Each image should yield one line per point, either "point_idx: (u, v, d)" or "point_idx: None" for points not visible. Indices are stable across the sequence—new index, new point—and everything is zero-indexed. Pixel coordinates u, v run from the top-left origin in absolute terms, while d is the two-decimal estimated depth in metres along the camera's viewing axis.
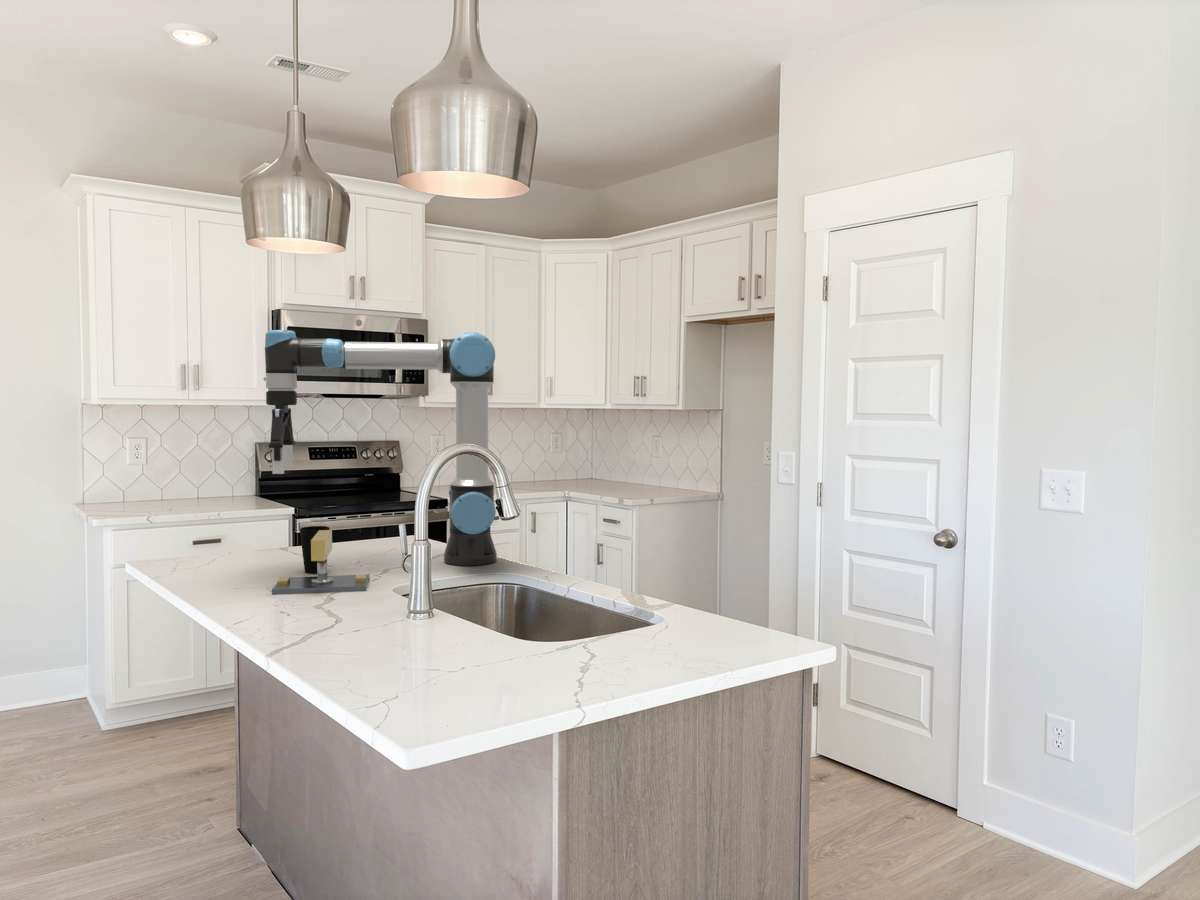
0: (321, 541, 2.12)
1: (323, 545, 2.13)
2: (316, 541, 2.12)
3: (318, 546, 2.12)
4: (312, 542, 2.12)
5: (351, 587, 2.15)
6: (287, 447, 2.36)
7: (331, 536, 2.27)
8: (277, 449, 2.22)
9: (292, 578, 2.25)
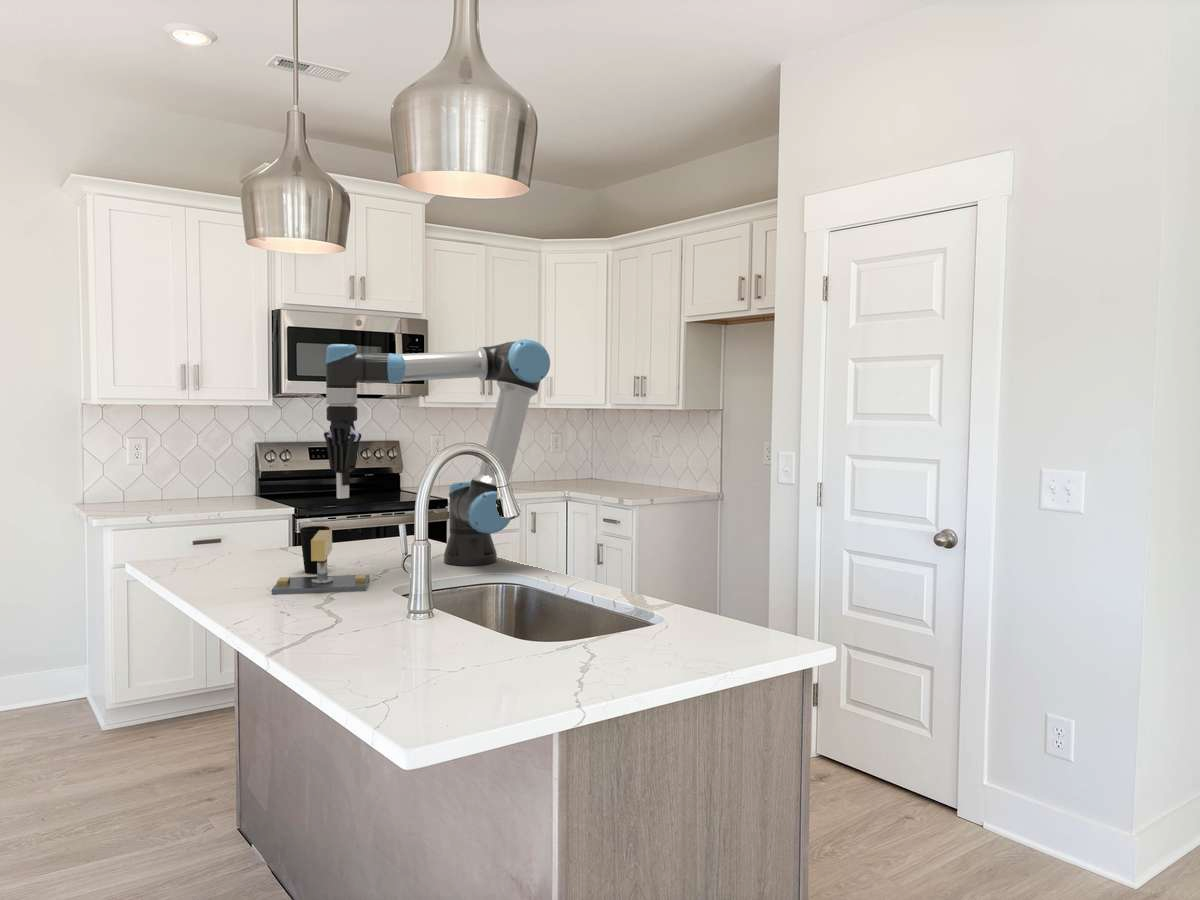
0: (321, 541, 2.12)
1: (323, 545, 2.13)
2: (316, 541, 2.12)
3: (318, 546, 2.12)
4: (312, 542, 2.12)
5: (351, 587, 2.15)
6: None
7: (331, 536, 2.27)
8: None
9: (292, 578, 2.25)
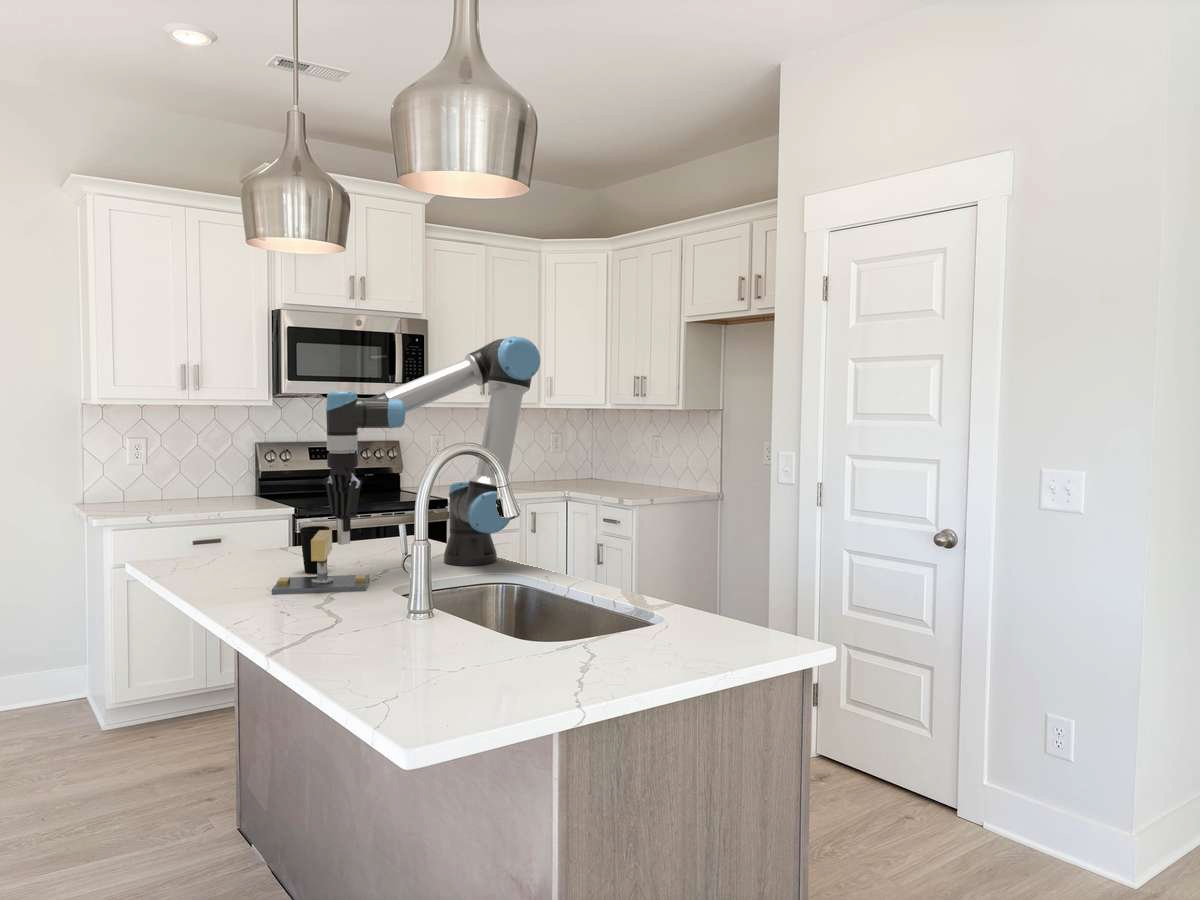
0: (321, 541, 2.12)
1: (323, 545, 2.13)
2: (316, 541, 2.12)
3: (318, 546, 2.12)
4: (312, 542, 2.12)
5: (351, 587, 2.15)
6: None
7: (331, 536, 2.27)
8: None
9: (292, 578, 2.25)
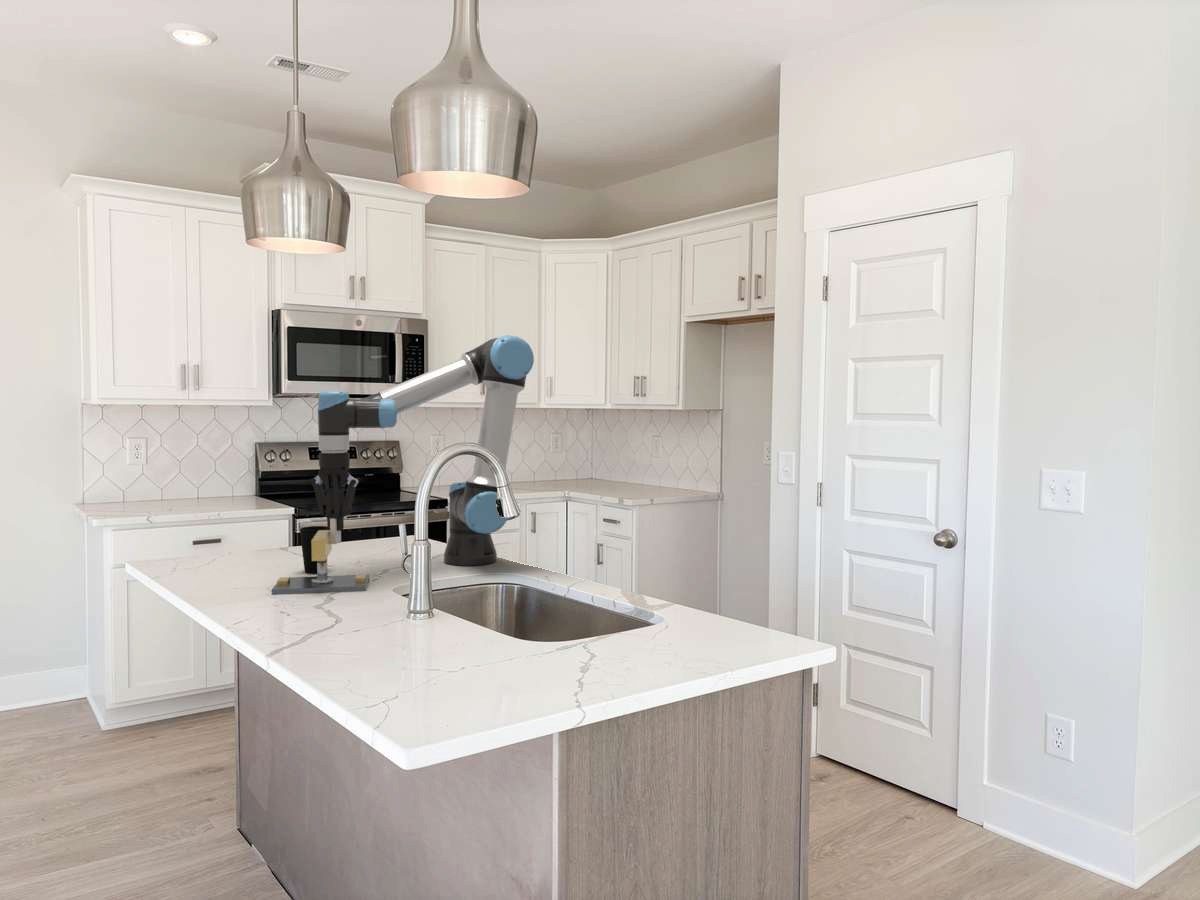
0: (322, 541, 2.12)
1: (324, 545, 2.13)
2: (317, 541, 2.12)
3: (319, 546, 2.12)
4: (313, 542, 2.12)
5: (351, 587, 2.15)
6: None
7: None
8: None
9: (292, 578, 2.25)
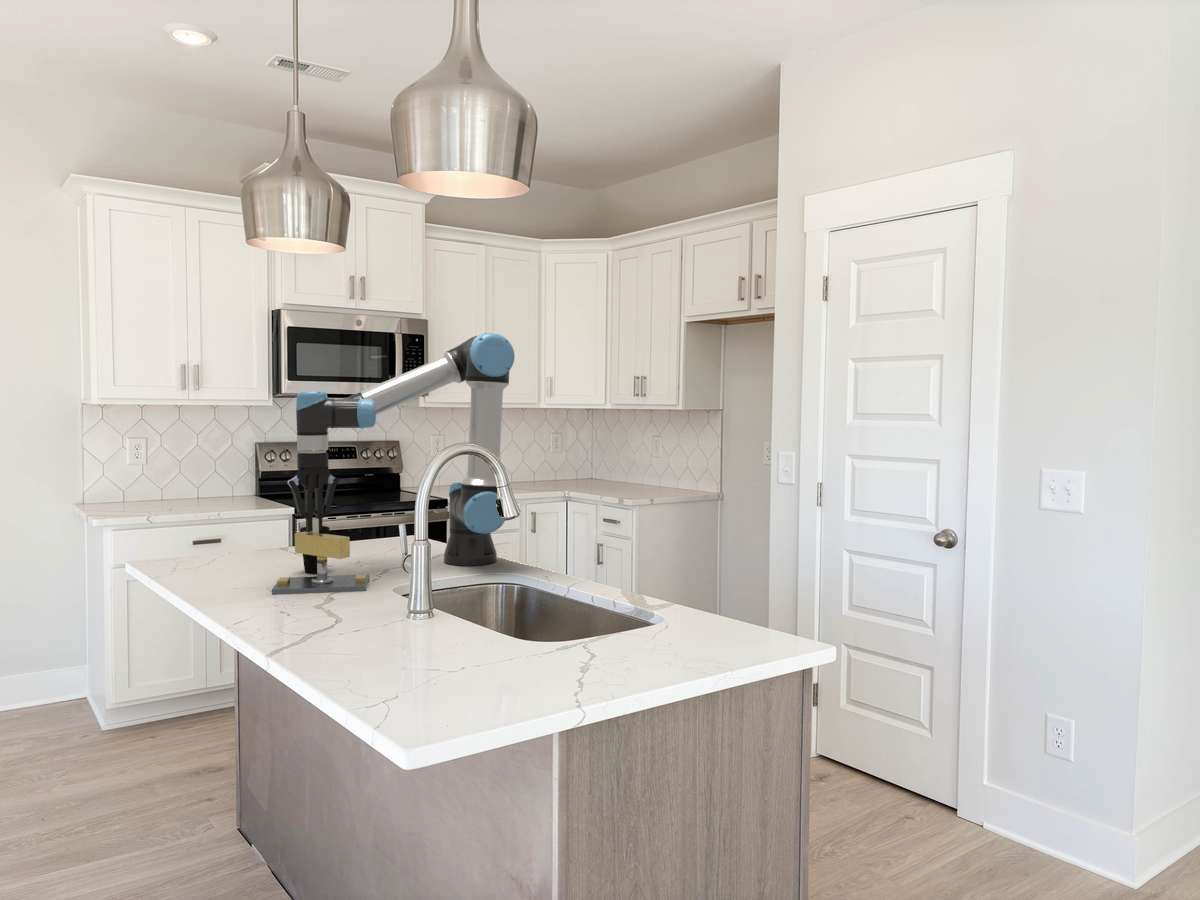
0: (347, 538, 2.17)
1: (348, 542, 2.17)
2: (343, 539, 2.16)
3: (345, 543, 2.16)
4: (340, 540, 2.15)
5: (351, 587, 2.15)
6: None
7: None
8: (306, 519, 2.24)
9: (292, 578, 2.25)
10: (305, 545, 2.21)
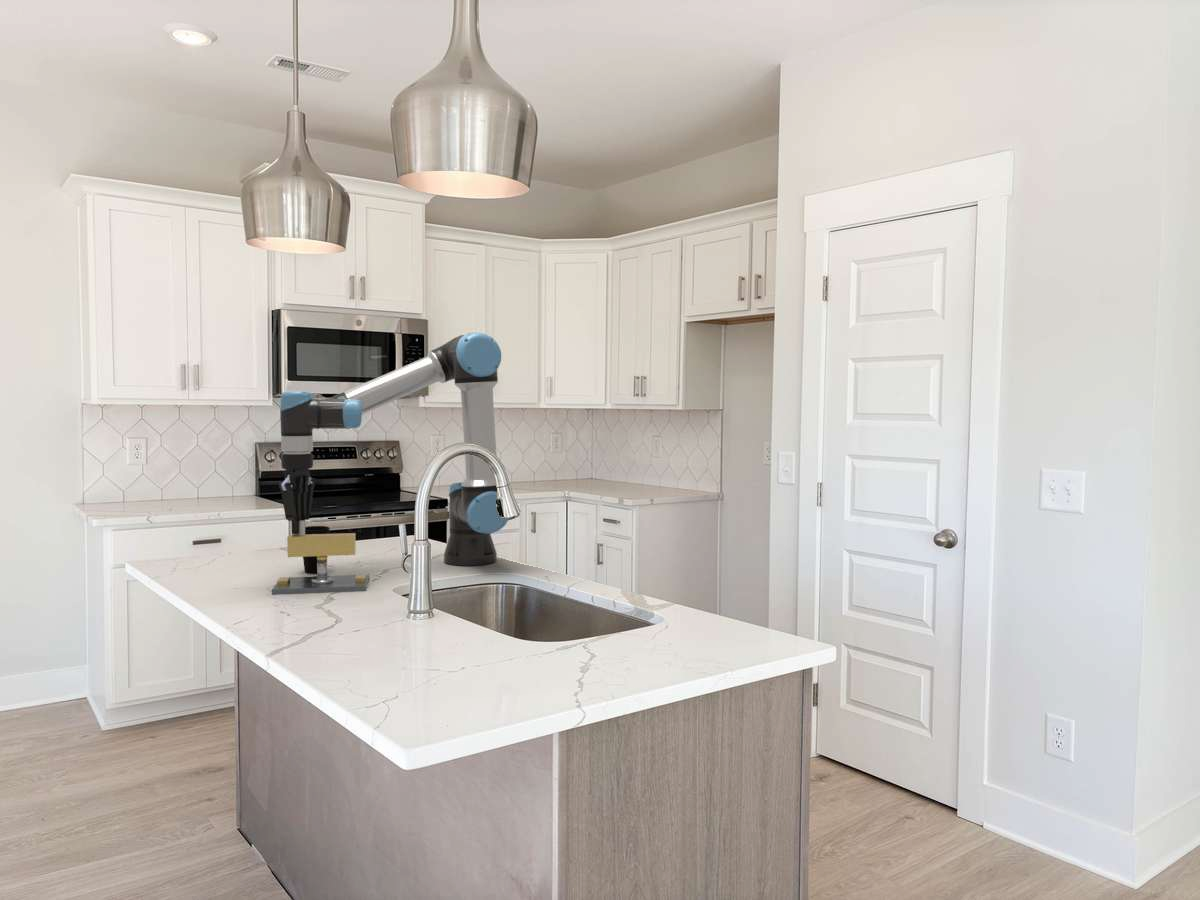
0: None
1: None
2: (354, 535, 2.21)
3: None
4: (354, 536, 2.21)
5: (351, 587, 2.15)
6: None
7: None
8: (294, 522, 2.20)
9: (292, 578, 2.25)
10: (303, 547, 2.18)
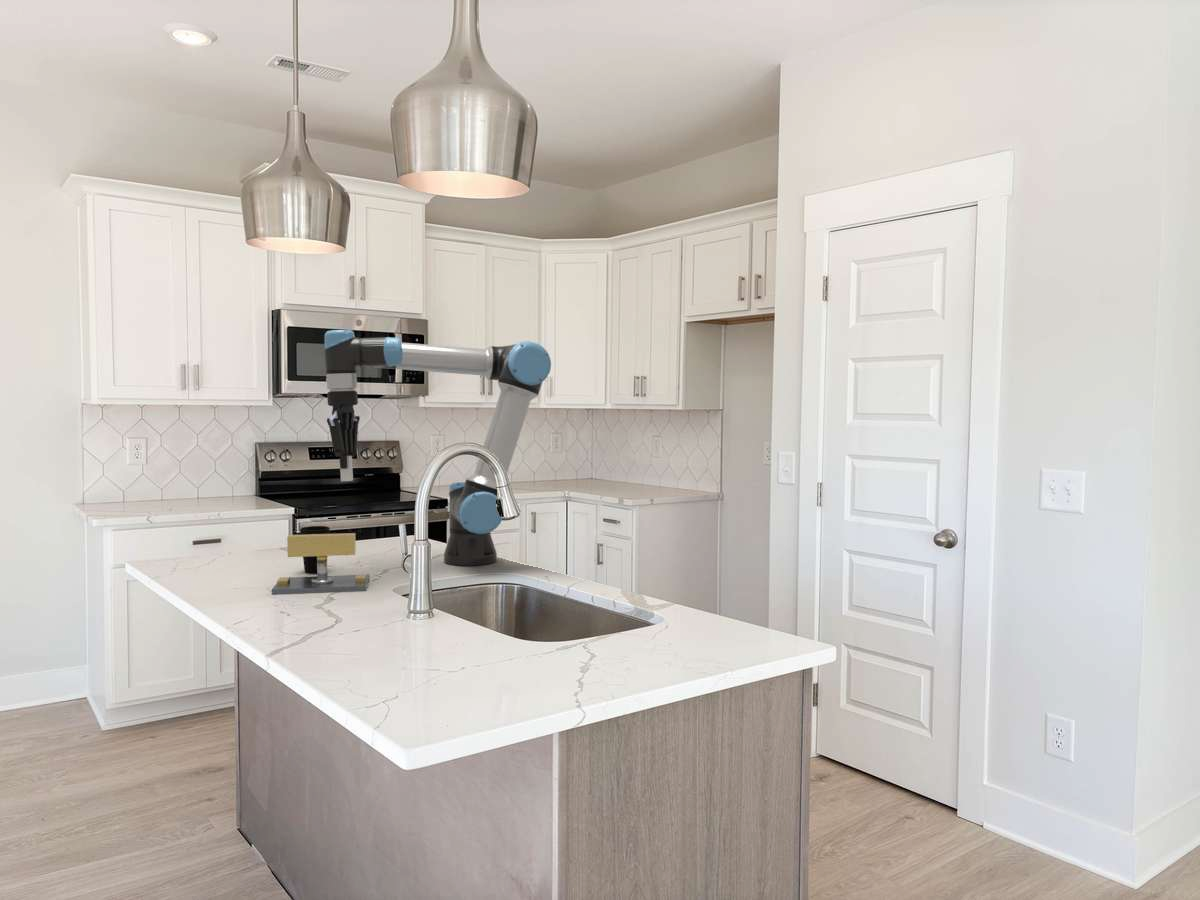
0: None
1: None
2: (354, 535, 2.21)
3: None
4: (354, 536, 2.21)
5: (351, 587, 2.15)
6: None
7: None
8: (342, 457, 2.27)
9: (292, 578, 2.25)
10: (303, 547, 2.18)
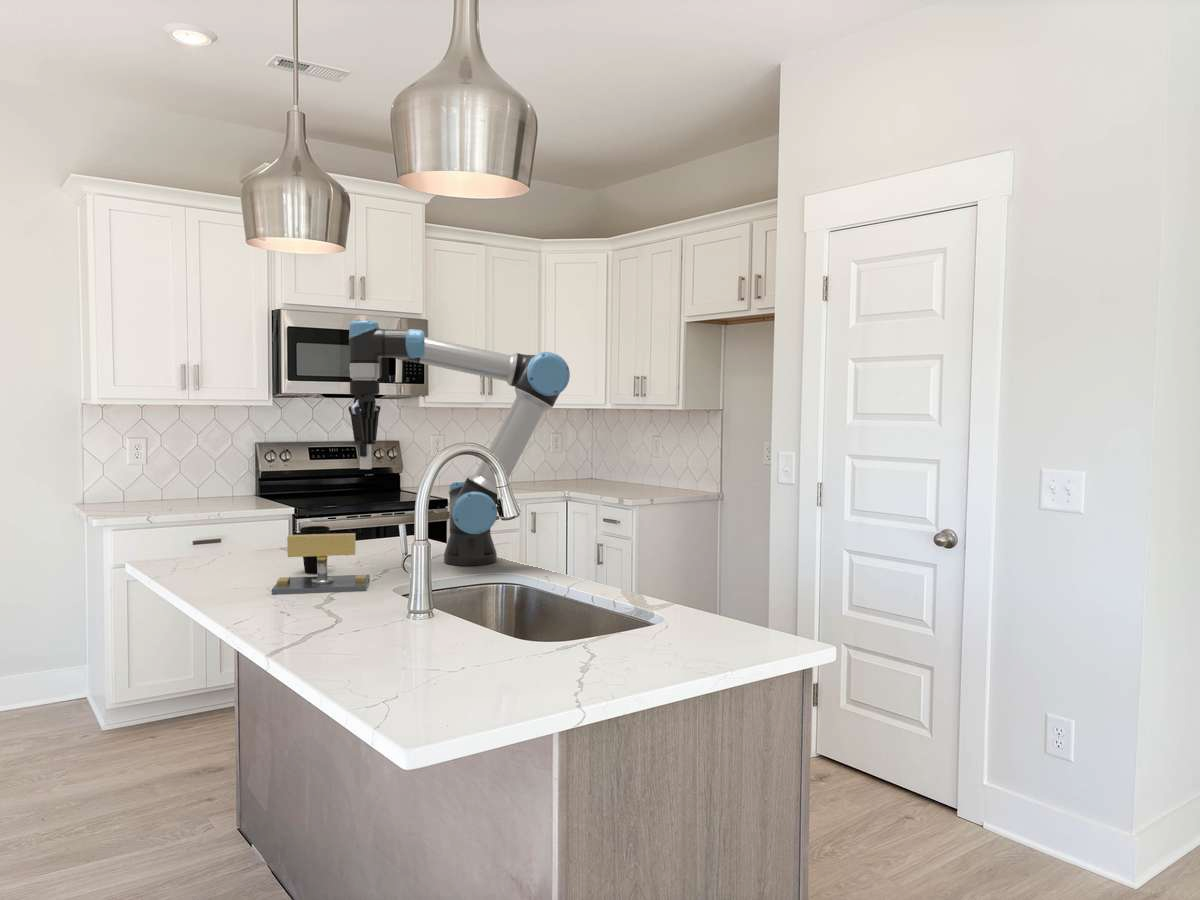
0: None
1: None
2: (354, 535, 2.21)
3: None
4: (354, 536, 2.21)
5: (351, 587, 2.15)
6: None
7: None
8: (362, 445, 2.31)
9: (292, 578, 2.25)
10: (303, 547, 2.18)
